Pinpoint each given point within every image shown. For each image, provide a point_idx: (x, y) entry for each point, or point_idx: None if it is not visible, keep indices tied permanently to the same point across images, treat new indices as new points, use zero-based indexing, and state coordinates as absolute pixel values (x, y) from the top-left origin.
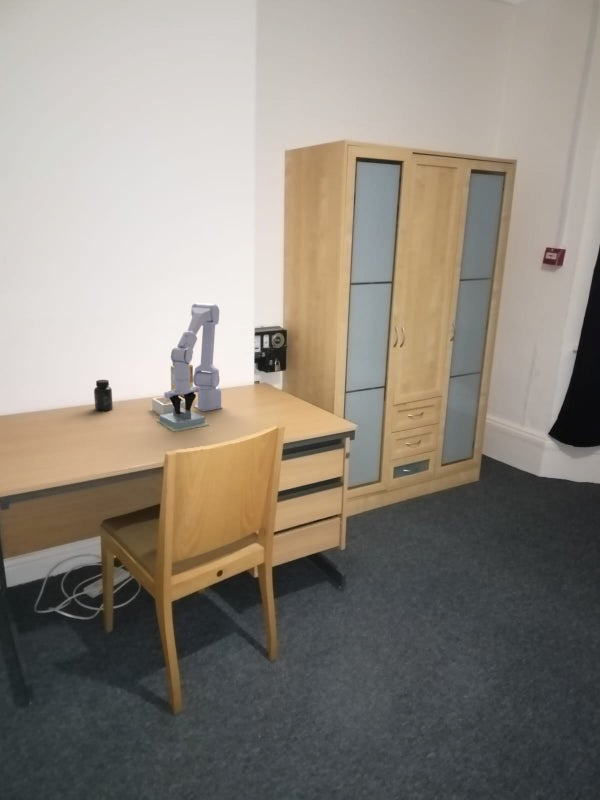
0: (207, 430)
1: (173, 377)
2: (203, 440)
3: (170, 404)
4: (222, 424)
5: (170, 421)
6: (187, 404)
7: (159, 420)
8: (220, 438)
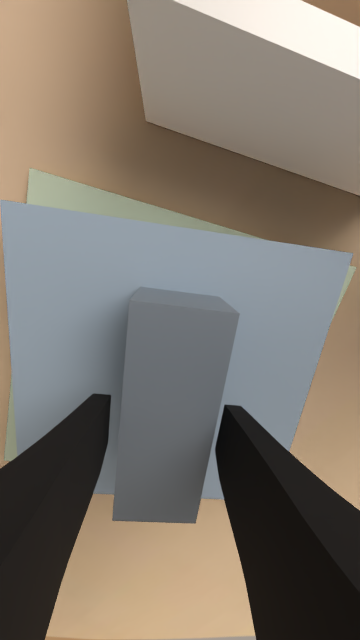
0: (180, 535)
1: None
2: (70, 605)
3: (267, 50)
4: None
5: (18, 402)
6: (251, 513)
7: (40, 203)
8: (147, 621)
